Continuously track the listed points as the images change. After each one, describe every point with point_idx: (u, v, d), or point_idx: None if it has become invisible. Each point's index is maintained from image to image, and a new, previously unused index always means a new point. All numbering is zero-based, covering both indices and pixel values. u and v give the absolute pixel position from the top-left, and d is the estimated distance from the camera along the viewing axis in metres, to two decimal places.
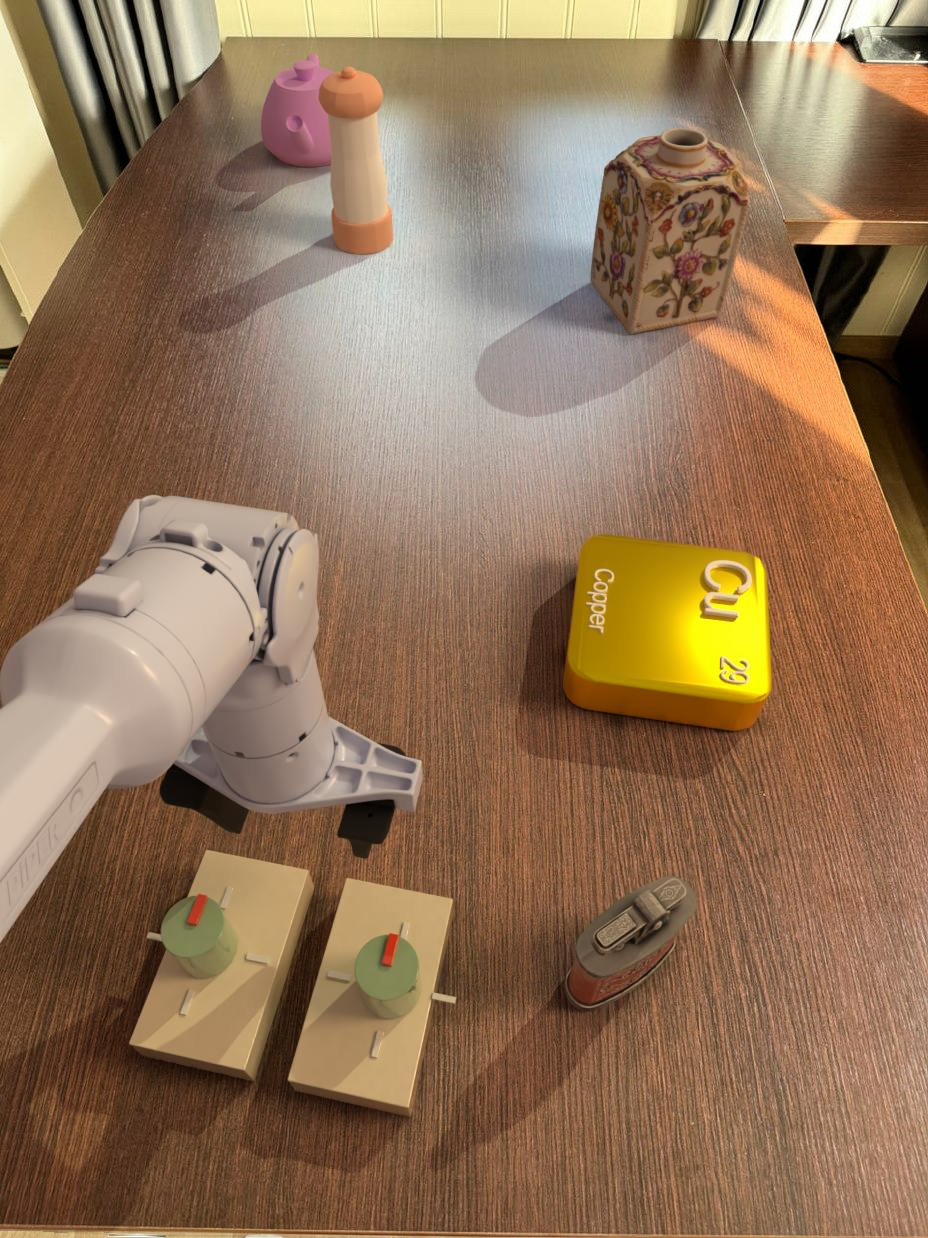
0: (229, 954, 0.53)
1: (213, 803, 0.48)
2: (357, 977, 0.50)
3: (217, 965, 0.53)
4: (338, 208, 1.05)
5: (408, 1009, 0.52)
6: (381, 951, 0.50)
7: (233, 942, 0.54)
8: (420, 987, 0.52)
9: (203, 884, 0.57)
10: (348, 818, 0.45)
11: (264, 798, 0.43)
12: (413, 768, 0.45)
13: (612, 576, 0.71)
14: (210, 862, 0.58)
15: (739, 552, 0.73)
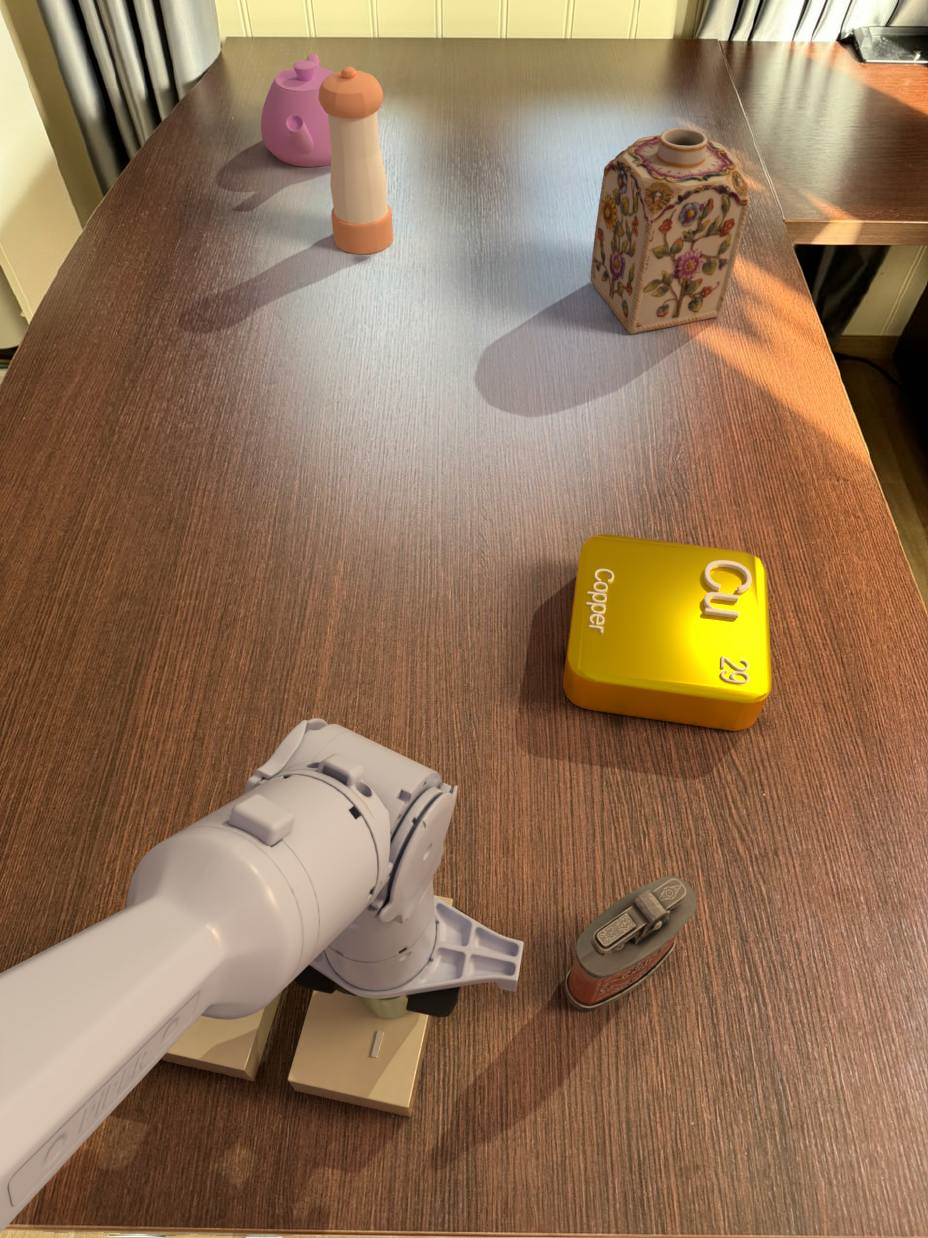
0: None
1: None
2: None
3: None
4: (338, 208, 1.05)
5: None
6: None
7: None
8: None
9: None
10: None
11: (372, 987, 0.43)
12: (515, 949, 0.45)
13: (612, 576, 0.71)
14: None
15: (739, 552, 0.73)
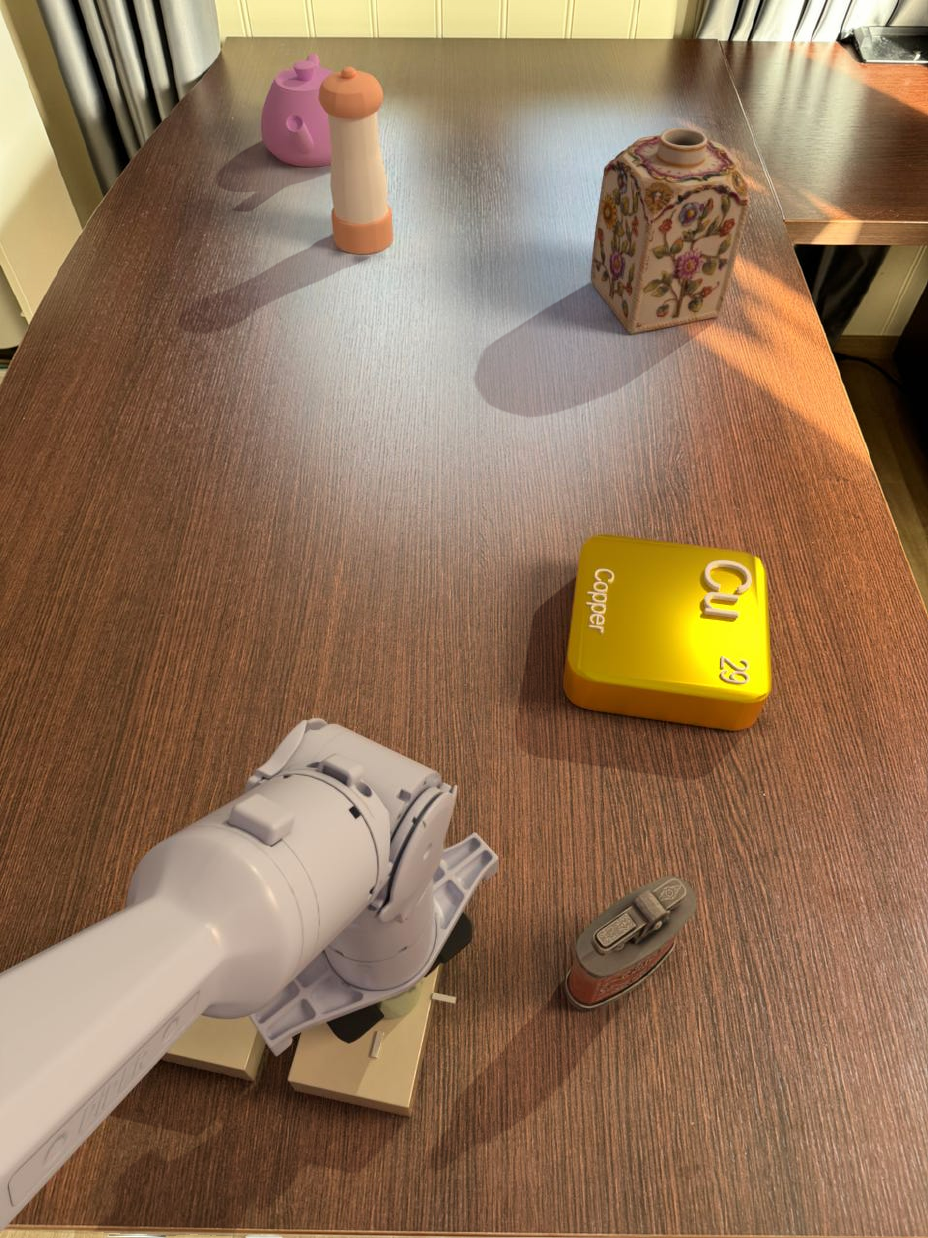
0: None
1: None
2: None
3: None
4: (338, 208, 1.05)
5: None
6: None
7: None
8: None
9: None
10: None
11: (419, 967, 0.44)
12: (473, 843, 0.49)
13: (612, 576, 0.71)
14: None
15: (739, 552, 0.73)
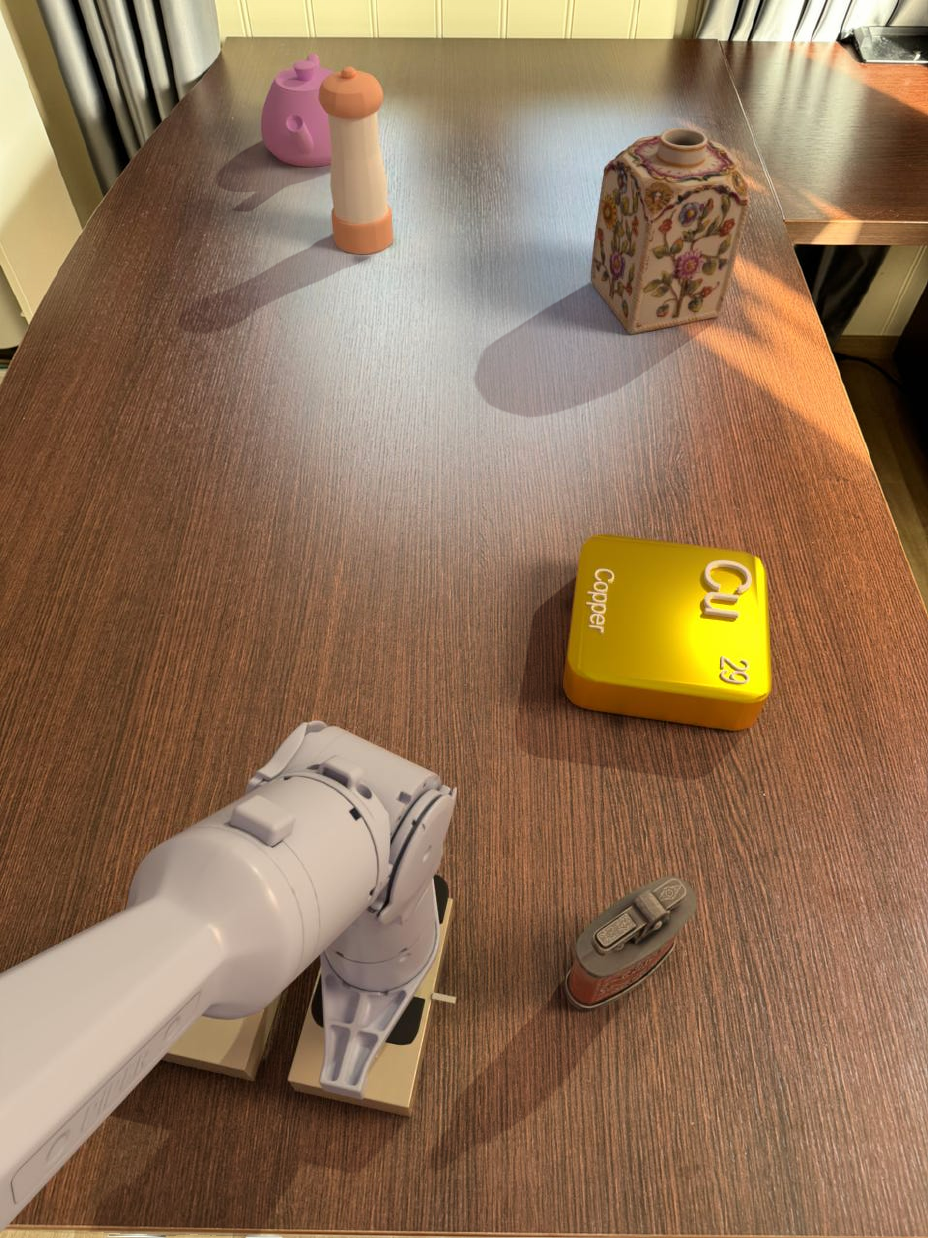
0: None
1: None
2: None
3: None
4: (338, 208, 1.05)
5: None
6: None
7: None
8: None
9: None
10: None
11: (435, 933, 0.45)
12: None
13: (612, 576, 0.71)
14: None
15: (739, 552, 0.73)
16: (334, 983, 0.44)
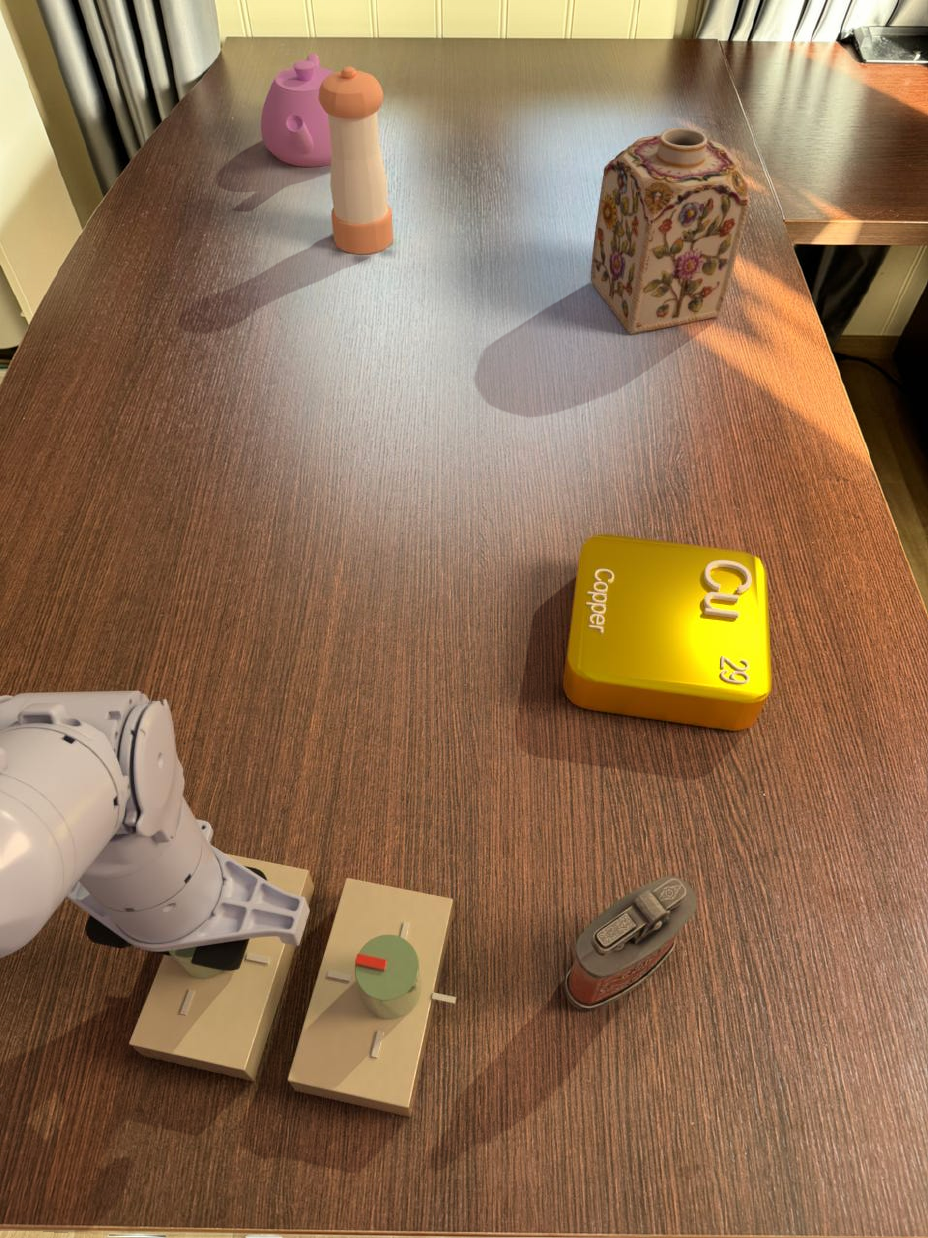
0: None
1: None
2: (395, 996, 0.49)
3: None
4: (338, 208, 1.05)
5: None
6: (371, 972, 0.50)
7: None
8: None
9: None
10: (203, 945, 0.47)
11: (148, 939, 0.45)
12: (297, 904, 0.47)
13: (612, 576, 0.71)
14: None
15: (739, 552, 0.73)
16: None
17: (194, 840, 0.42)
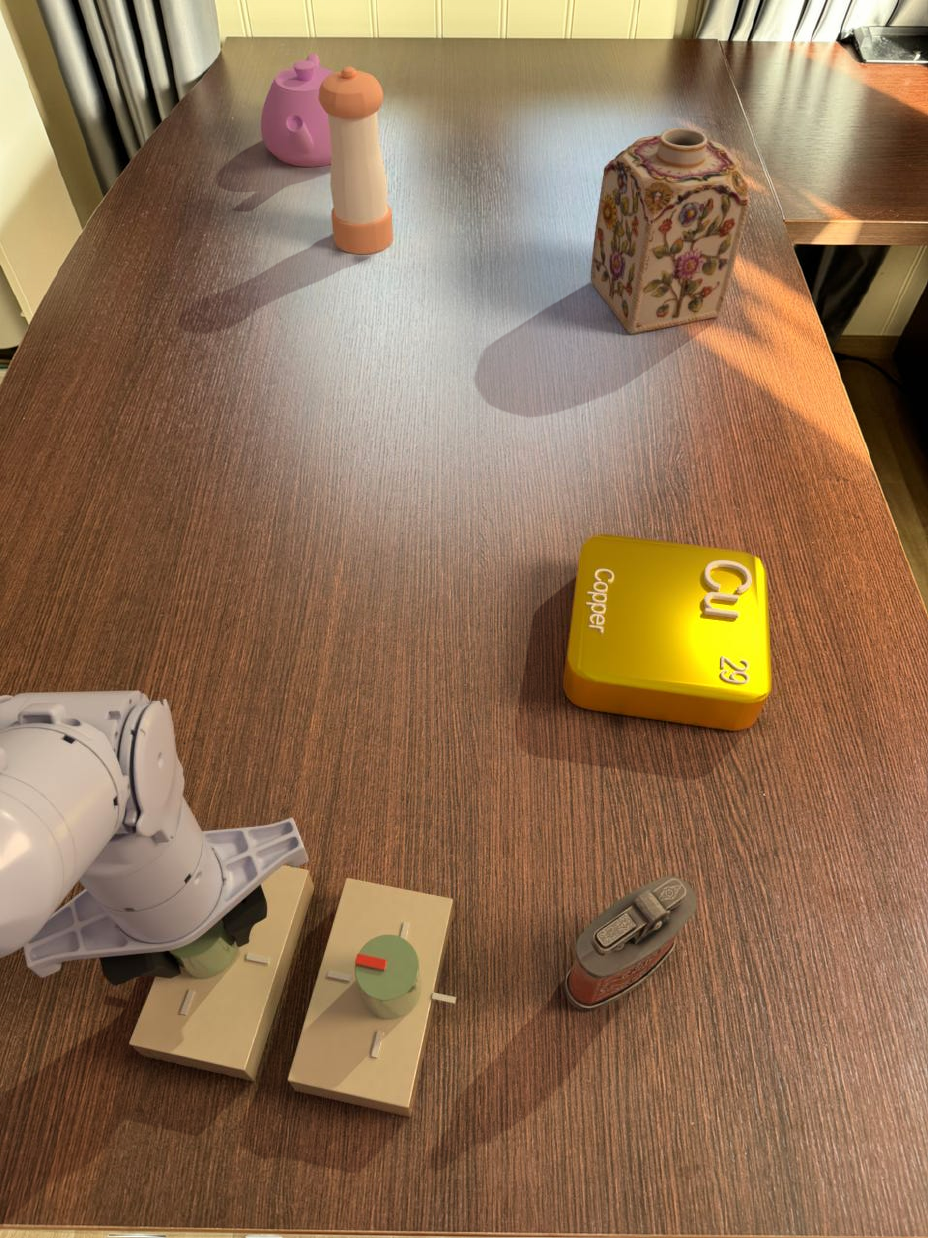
0: None
1: (156, 958, 0.48)
2: (395, 996, 0.49)
3: (230, 950, 0.53)
4: (338, 208, 1.05)
5: None
6: (371, 972, 0.50)
7: None
8: None
9: None
10: (227, 915, 0.48)
11: (185, 930, 0.45)
12: (288, 827, 0.49)
13: (612, 576, 0.71)
14: None
15: (739, 552, 0.73)
16: None
17: (194, 840, 0.42)
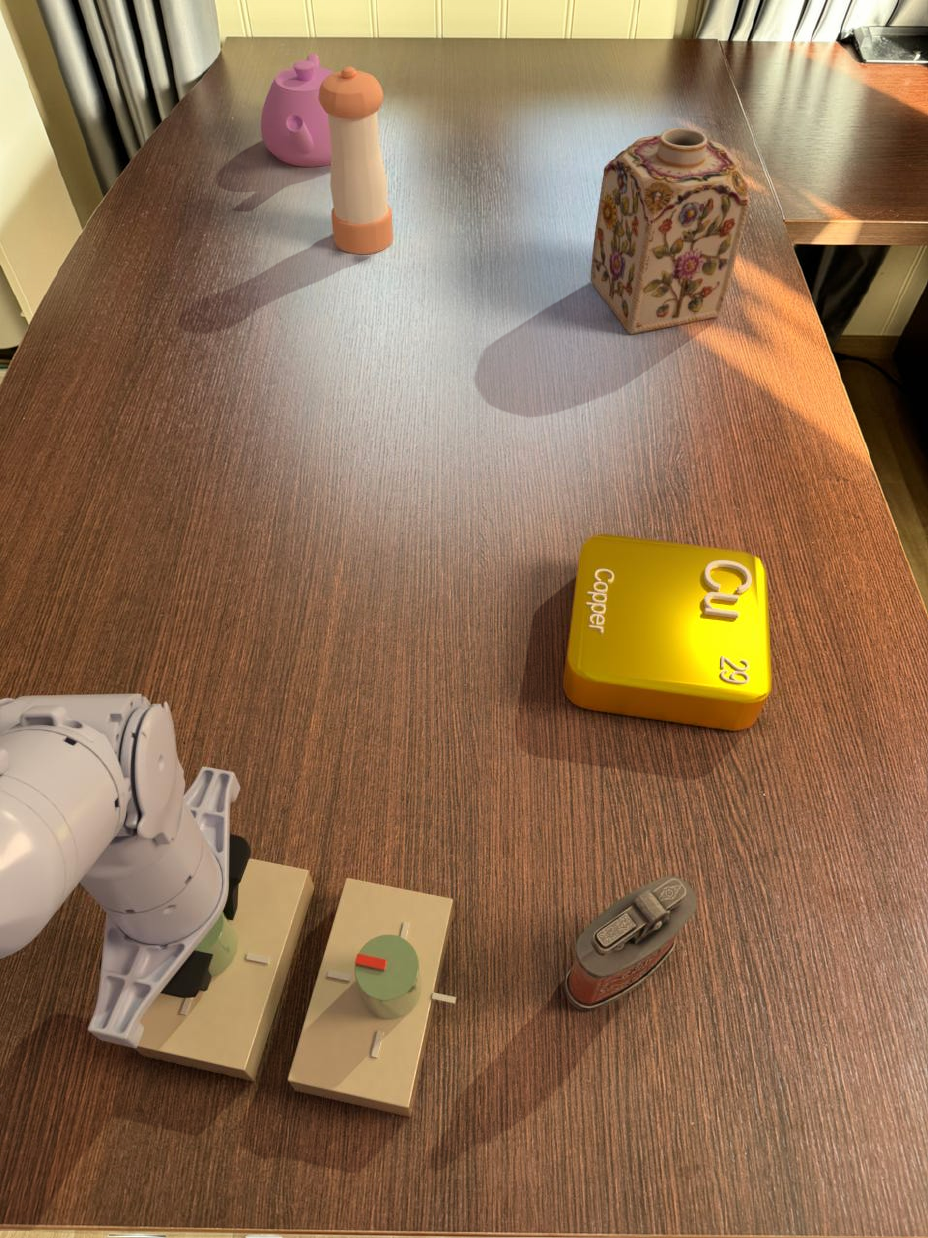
0: None
1: None
2: (395, 996, 0.49)
3: None
4: (338, 208, 1.05)
5: None
6: (371, 972, 0.50)
7: None
8: None
9: None
10: None
11: (218, 889, 0.46)
12: (206, 775, 0.51)
13: (612, 576, 0.71)
14: None
15: (739, 552, 0.73)
16: (117, 937, 0.46)
17: (195, 842, 0.42)
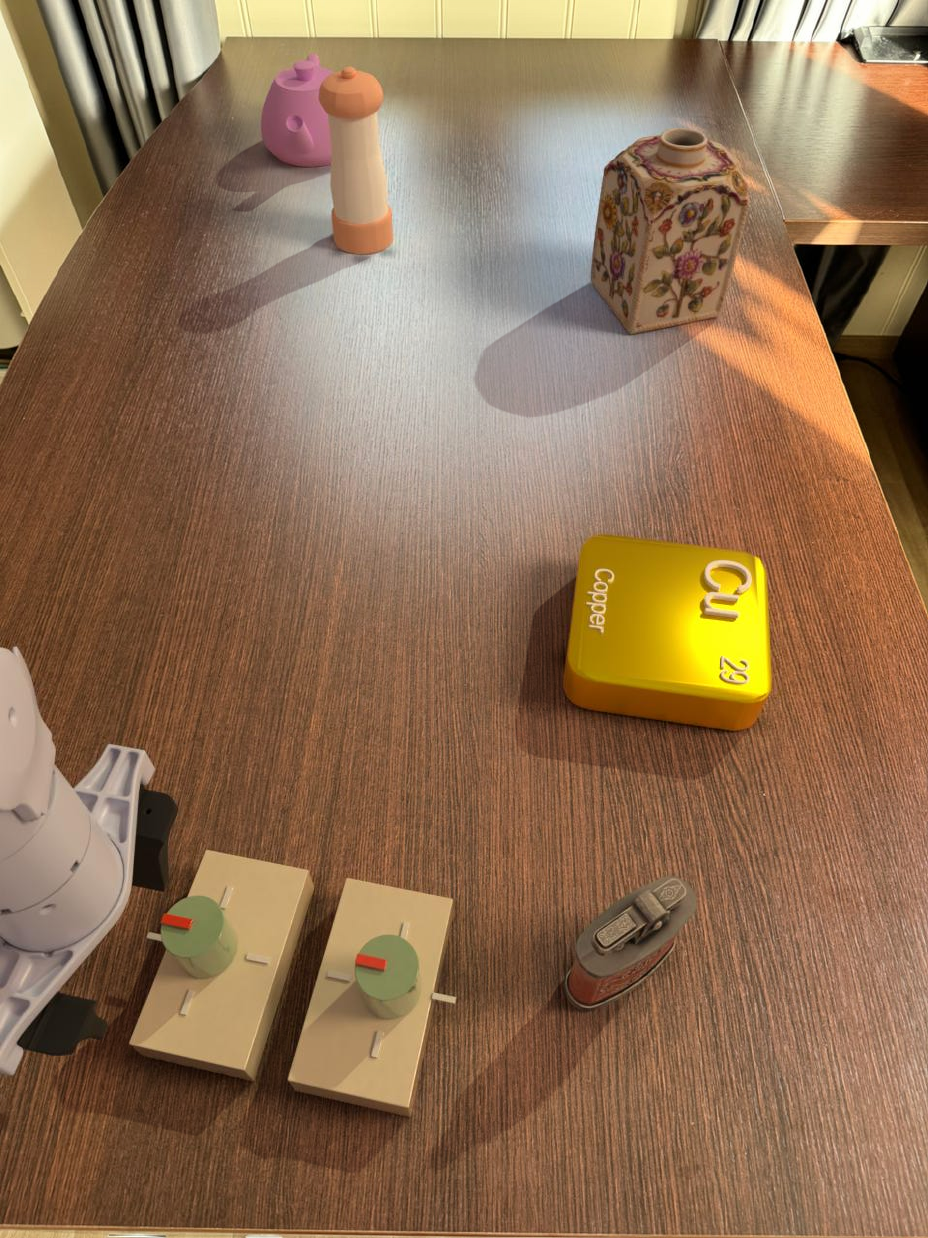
0: None
1: None
2: (395, 996, 0.49)
3: None
4: (338, 208, 1.05)
5: None
6: (371, 972, 0.50)
7: None
8: None
9: (203, 884, 0.57)
10: (147, 831, 0.44)
11: (116, 886, 0.39)
12: (113, 755, 0.44)
13: (612, 576, 0.71)
14: (210, 862, 0.58)
15: (739, 552, 0.73)
16: None
17: (78, 820, 0.35)
